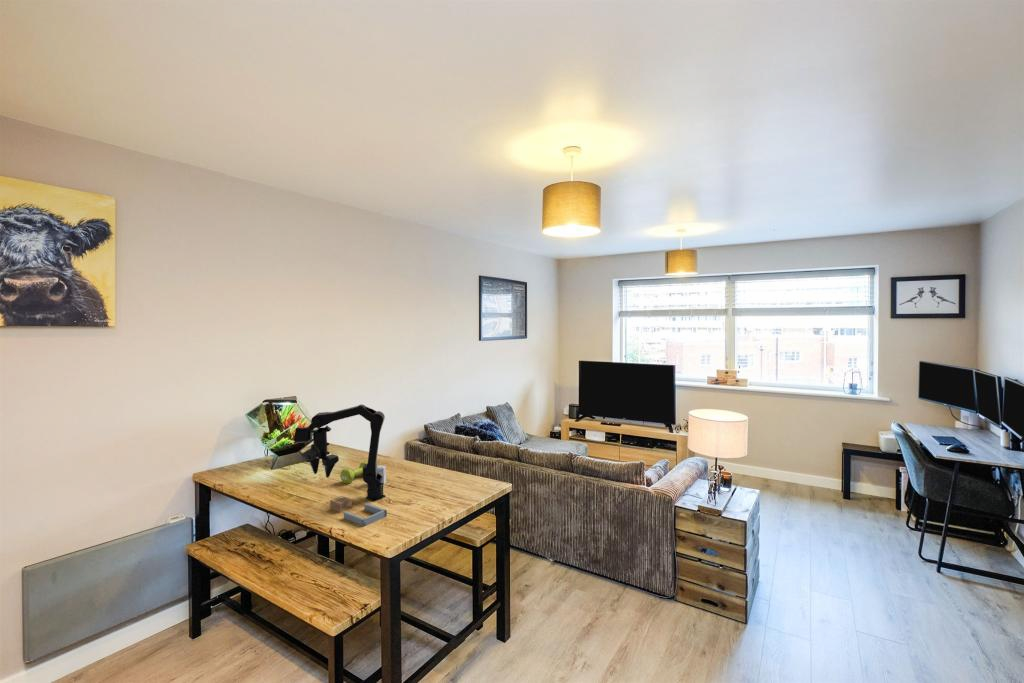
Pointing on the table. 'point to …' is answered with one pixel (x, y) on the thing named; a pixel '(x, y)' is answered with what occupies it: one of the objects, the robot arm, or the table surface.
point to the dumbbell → (351, 473)
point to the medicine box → (382, 473)
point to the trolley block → (341, 504)
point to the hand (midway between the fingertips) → (321, 475)
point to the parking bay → (365, 521)
